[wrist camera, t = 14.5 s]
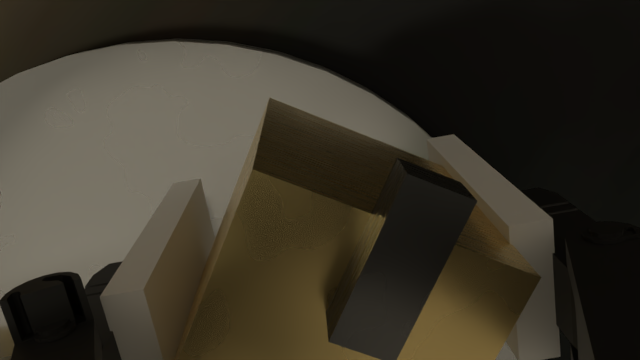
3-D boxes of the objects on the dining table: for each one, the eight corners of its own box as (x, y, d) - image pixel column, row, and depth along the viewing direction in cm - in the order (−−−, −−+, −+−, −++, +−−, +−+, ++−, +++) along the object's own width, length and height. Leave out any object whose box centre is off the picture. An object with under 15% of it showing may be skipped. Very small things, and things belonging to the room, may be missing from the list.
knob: (360, 278, 18) (422, 548, 9) (217, 227, 18) (138, 466, 9) (437, 113, 17) (596, 247, 8) (284, 51, 16) (273, 121, 7)
